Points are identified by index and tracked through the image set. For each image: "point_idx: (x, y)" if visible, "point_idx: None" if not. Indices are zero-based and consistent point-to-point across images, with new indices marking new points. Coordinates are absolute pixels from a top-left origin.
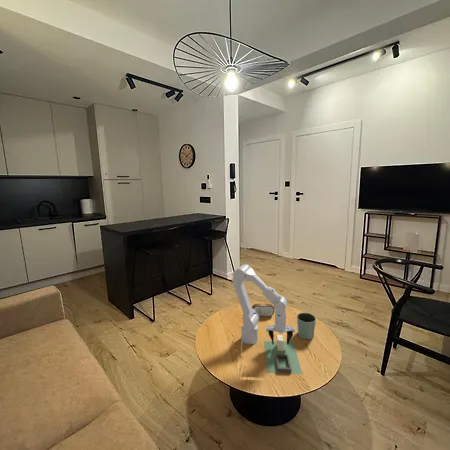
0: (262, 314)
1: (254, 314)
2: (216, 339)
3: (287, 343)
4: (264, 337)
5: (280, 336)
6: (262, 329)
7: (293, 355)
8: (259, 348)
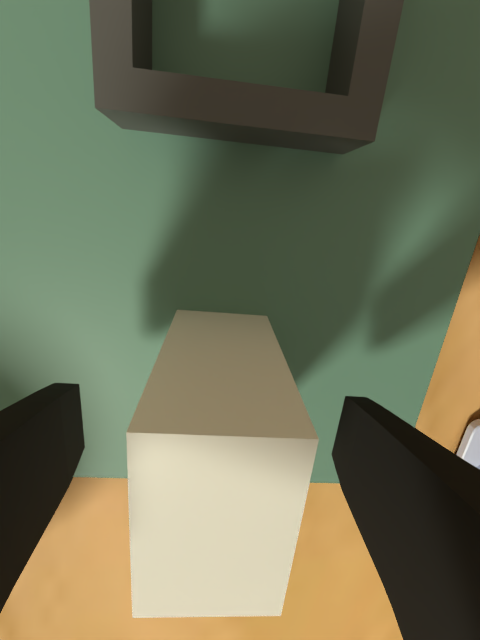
0: None
1: None
2: None
3: (56, 395)
4: (352, 537)
5: (194, 581)
6: (337, 626)
7: (16, 195)
8: (474, 380)
